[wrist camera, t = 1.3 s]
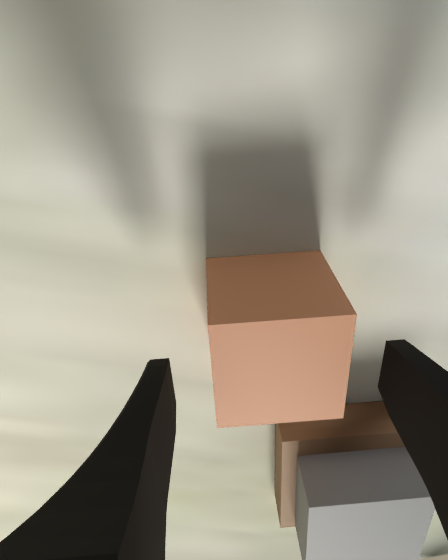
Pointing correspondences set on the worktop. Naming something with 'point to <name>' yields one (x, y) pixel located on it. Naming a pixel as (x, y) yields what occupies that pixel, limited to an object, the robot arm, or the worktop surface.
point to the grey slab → (361, 506)
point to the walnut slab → (327, 445)
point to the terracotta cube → (278, 338)
